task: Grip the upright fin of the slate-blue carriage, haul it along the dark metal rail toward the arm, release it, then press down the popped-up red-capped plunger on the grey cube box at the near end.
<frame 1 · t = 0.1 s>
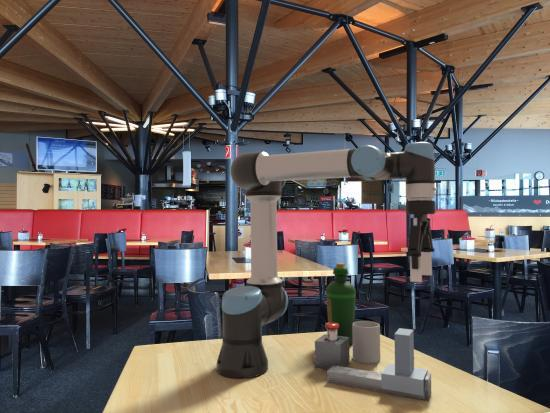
hand: (421, 278, 116), 28 cm above the table, fingers open, 13 cm apart
bottle: (341, 343, 151), on the table
carriage: (404, 359, 109), point 8 cm above the table, slide at 0.0 cm
rail: (377, 387, 112), on the table
plunger: (332, 339, 129), point 8 cm above the table, slide at 0.0 cm
mug: (366, 358, 136), on the table
grey cube box: (332, 366, 128), on the table
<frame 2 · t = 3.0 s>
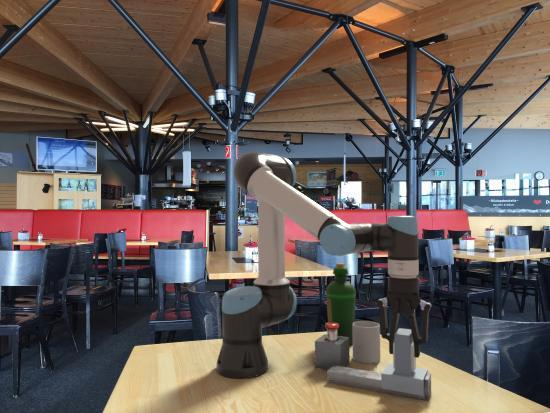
hand: (404, 368, 109), 6 cm above the table, fingers closed on carriage, 4 cm apart
carriage: (404, 359, 109), point 8 cm above the table, slide at 0.0 cm, touching gripper
everything else where it was.
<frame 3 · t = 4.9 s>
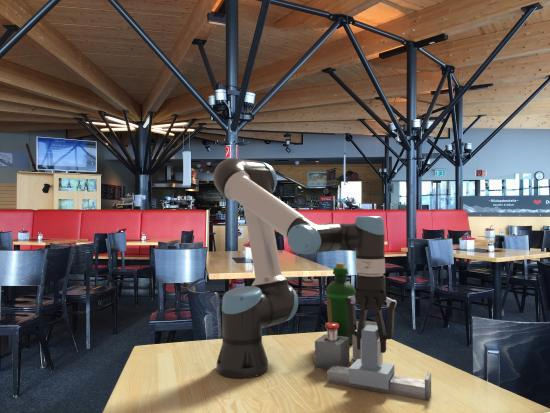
hand: (371, 363, 113), 6 cm above the table, fingers closed on carriage, 4 cm apart
carriage: (371, 354, 113), point 8 cm above the table, slide at 8.4 cm, touching gripper
everything else where it was.
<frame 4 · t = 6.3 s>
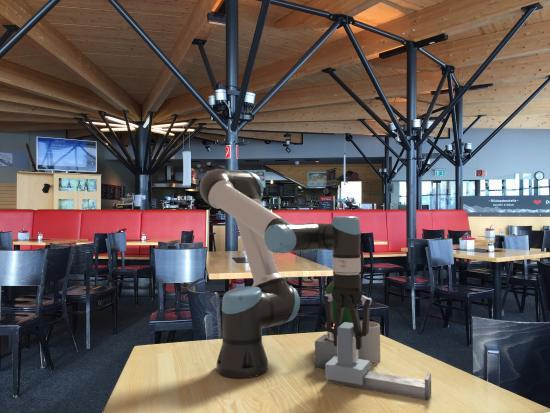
hand: (347, 359, 116), 6 cm above the table, fingers closed on carriage, 4 cm apart
carriage: (347, 350, 116), point 8 cm above the table, slide at 15.0 cm, touching gripper
everything else where it was.
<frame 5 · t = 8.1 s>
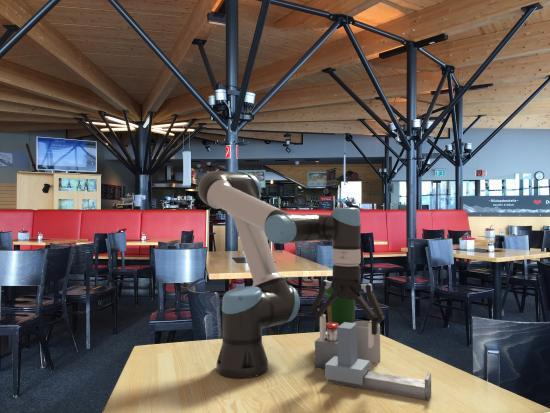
hand: (346, 342, 116), 11 cm above the table, fingers open, 13 cm apart
carriage: (347, 350, 116), point 8 cm above the table, slide at 15.0 cm
everything else where it was.
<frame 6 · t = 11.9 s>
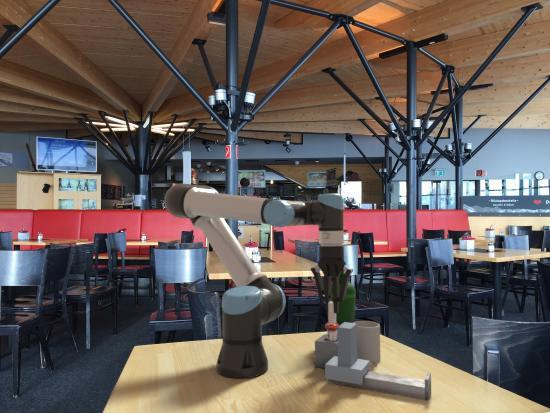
hand: (332, 323, 129), 13 cm above the table, fingers closed
plunger: (332, 339, 129), point 8 cm above the table, slide at 0.1 cm, touching gripper
everything else where it was.
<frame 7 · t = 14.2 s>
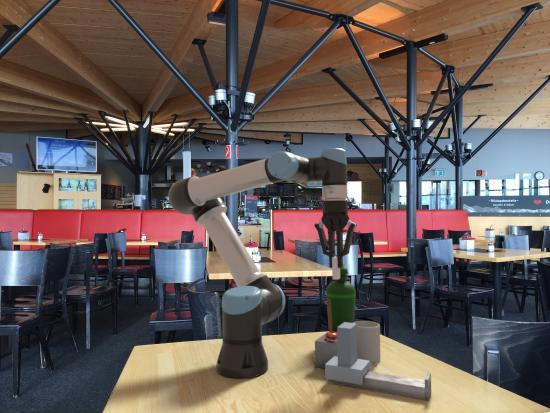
hand: (336, 278, 129), 26 cm above the table, fingers closed
plunger: (332, 348, 129), point 5 cm above the table, slide at 2.8 cm
everything else where it was.
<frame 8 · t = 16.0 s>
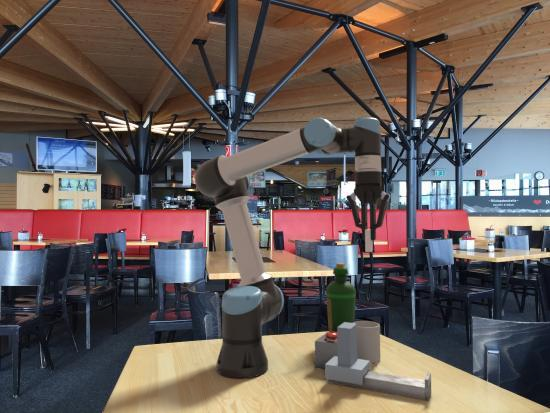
hand: (369, 251, 126), 34 cm above the table, fingers closed
nothing on the table moved.
at the end: carriage slide at 15.0 cm; plunger slide at 2.8 cm; the gripper is holding nothing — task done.
